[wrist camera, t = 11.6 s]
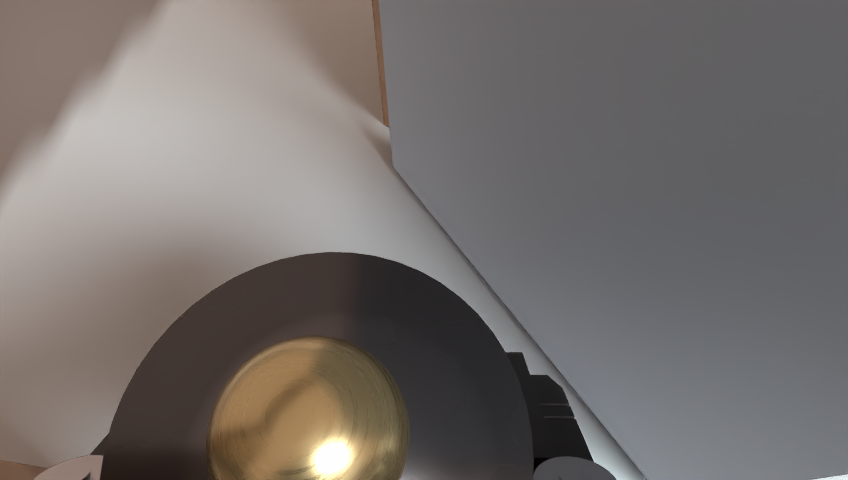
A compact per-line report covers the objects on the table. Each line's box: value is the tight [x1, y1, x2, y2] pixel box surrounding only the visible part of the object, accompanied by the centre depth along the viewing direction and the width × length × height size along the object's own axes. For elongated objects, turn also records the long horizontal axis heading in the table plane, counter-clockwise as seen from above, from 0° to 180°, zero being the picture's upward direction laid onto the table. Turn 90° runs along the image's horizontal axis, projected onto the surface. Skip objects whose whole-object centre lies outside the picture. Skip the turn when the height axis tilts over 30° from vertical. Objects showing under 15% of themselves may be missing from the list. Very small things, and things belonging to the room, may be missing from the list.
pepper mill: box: [100, 252, 534, 480], centre depth 11 cm, size 6×6×11 cm
